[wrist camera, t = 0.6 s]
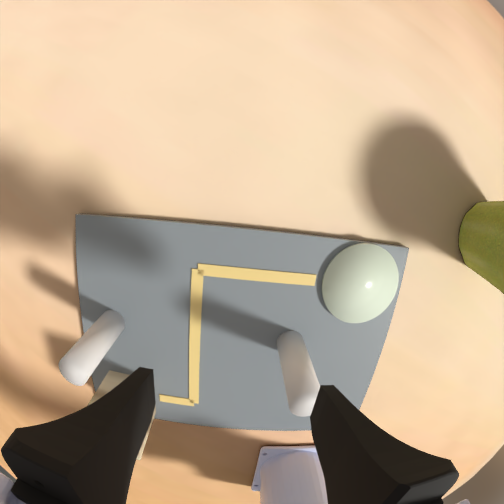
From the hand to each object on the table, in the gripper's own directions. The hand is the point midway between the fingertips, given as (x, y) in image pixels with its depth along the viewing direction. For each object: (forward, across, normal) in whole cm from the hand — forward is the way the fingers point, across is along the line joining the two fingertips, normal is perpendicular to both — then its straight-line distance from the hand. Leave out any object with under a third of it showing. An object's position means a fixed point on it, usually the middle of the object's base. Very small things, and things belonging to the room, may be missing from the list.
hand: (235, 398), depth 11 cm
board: (+10, 0, +3) cm, 10 cm away
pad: (+10, -8, -3) cm, 13 cm away
